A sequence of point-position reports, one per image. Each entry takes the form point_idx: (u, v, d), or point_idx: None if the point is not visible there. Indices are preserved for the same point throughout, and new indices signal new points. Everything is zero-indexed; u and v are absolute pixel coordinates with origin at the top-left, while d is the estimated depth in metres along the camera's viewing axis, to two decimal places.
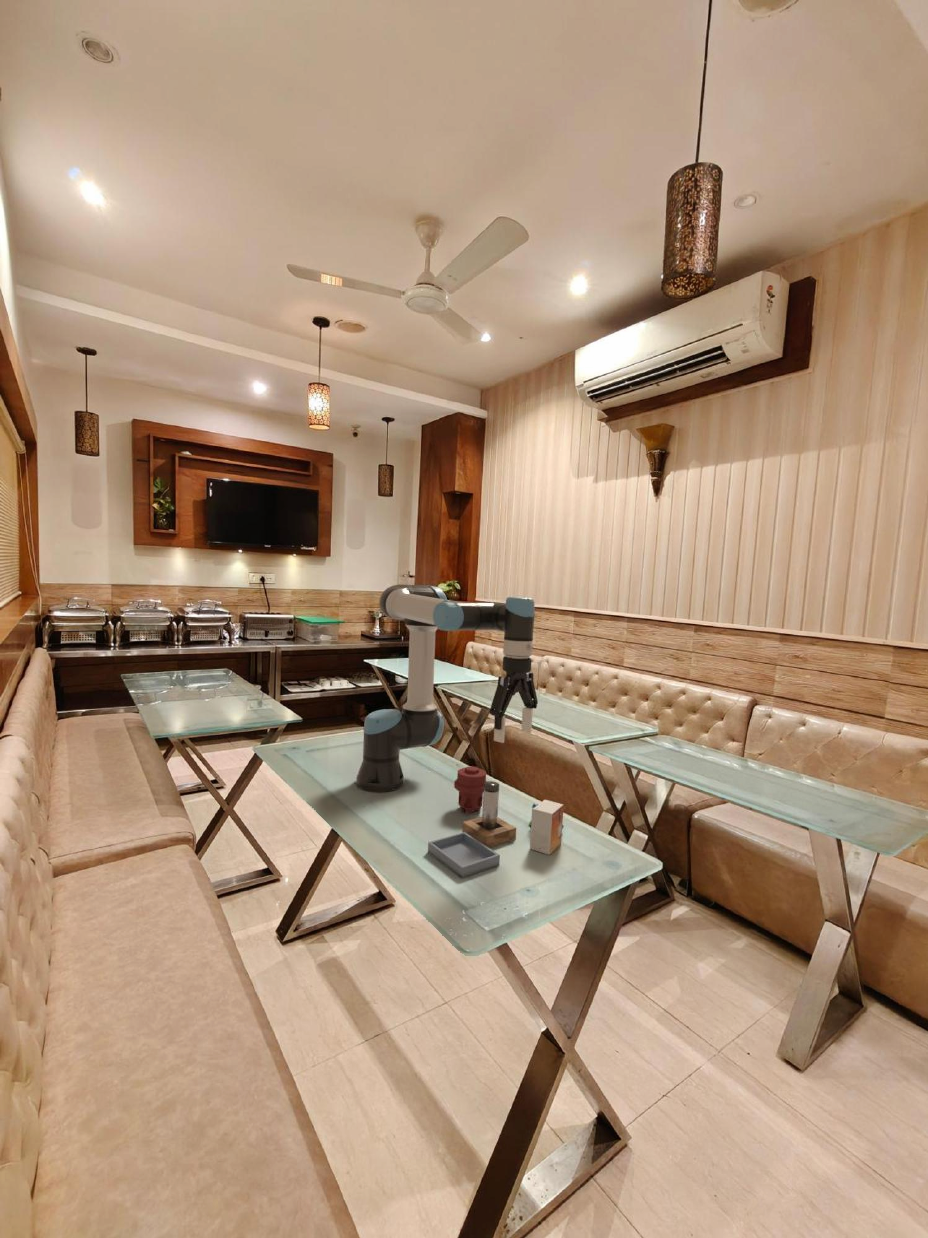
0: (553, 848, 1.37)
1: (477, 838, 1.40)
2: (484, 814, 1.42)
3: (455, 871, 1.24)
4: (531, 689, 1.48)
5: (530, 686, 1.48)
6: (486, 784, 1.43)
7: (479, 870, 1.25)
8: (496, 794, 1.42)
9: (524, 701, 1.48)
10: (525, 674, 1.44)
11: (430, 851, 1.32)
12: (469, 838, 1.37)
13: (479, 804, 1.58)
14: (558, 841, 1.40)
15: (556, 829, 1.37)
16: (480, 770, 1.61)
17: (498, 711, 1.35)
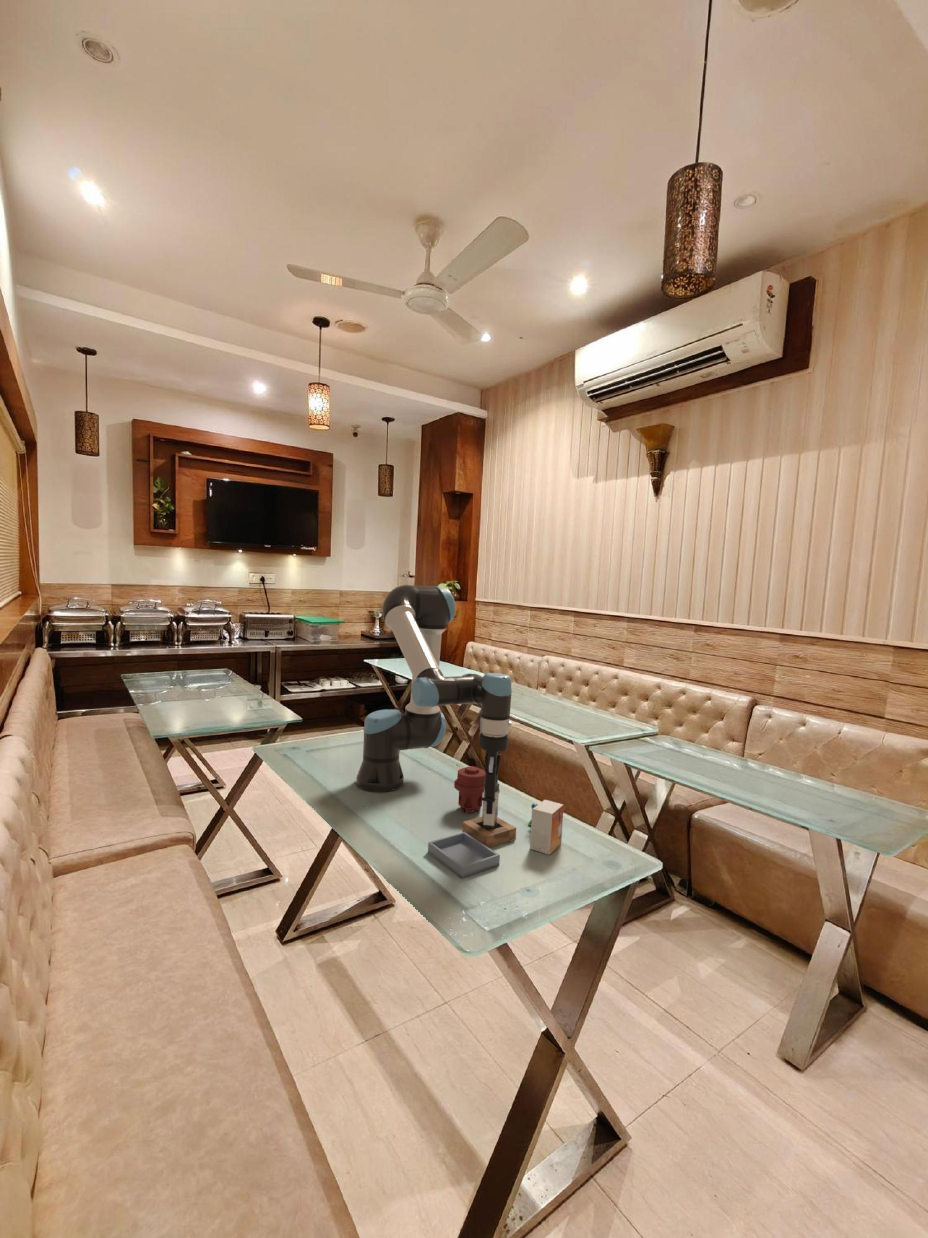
0: (553, 848, 1.37)
1: (477, 838, 1.40)
2: None
3: (455, 871, 1.24)
4: None
5: None
6: None
7: (479, 870, 1.25)
8: (496, 794, 1.42)
9: None
10: None
11: (430, 851, 1.32)
12: (469, 838, 1.37)
13: (479, 804, 1.58)
14: (558, 841, 1.40)
15: (556, 829, 1.37)
16: (480, 770, 1.61)
17: (494, 798, 1.38)
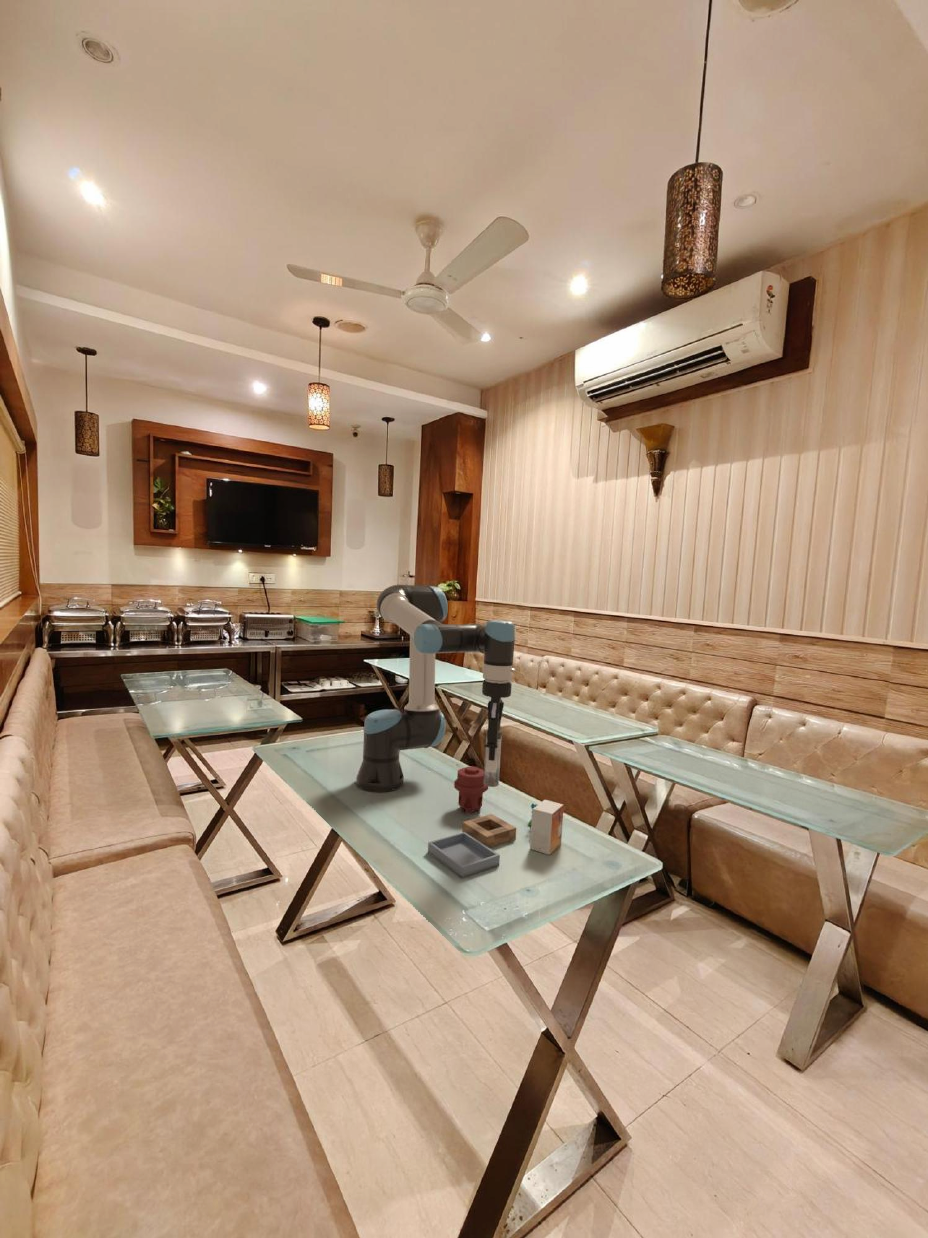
0: (553, 848, 1.37)
1: (477, 838, 1.40)
2: None
3: (455, 871, 1.24)
4: None
5: None
6: None
7: (479, 870, 1.25)
8: (499, 741, 1.41)
9: None
10: None
11: (430, 851, 1.32)
12: (469, 838, 1.37)
13: (479, 804, 1.58)
14: (558, 841, 1.40)
15: (556, 829, 1.37)
16: (480, 770, 1.61)
17: (496, 744, 1.37)
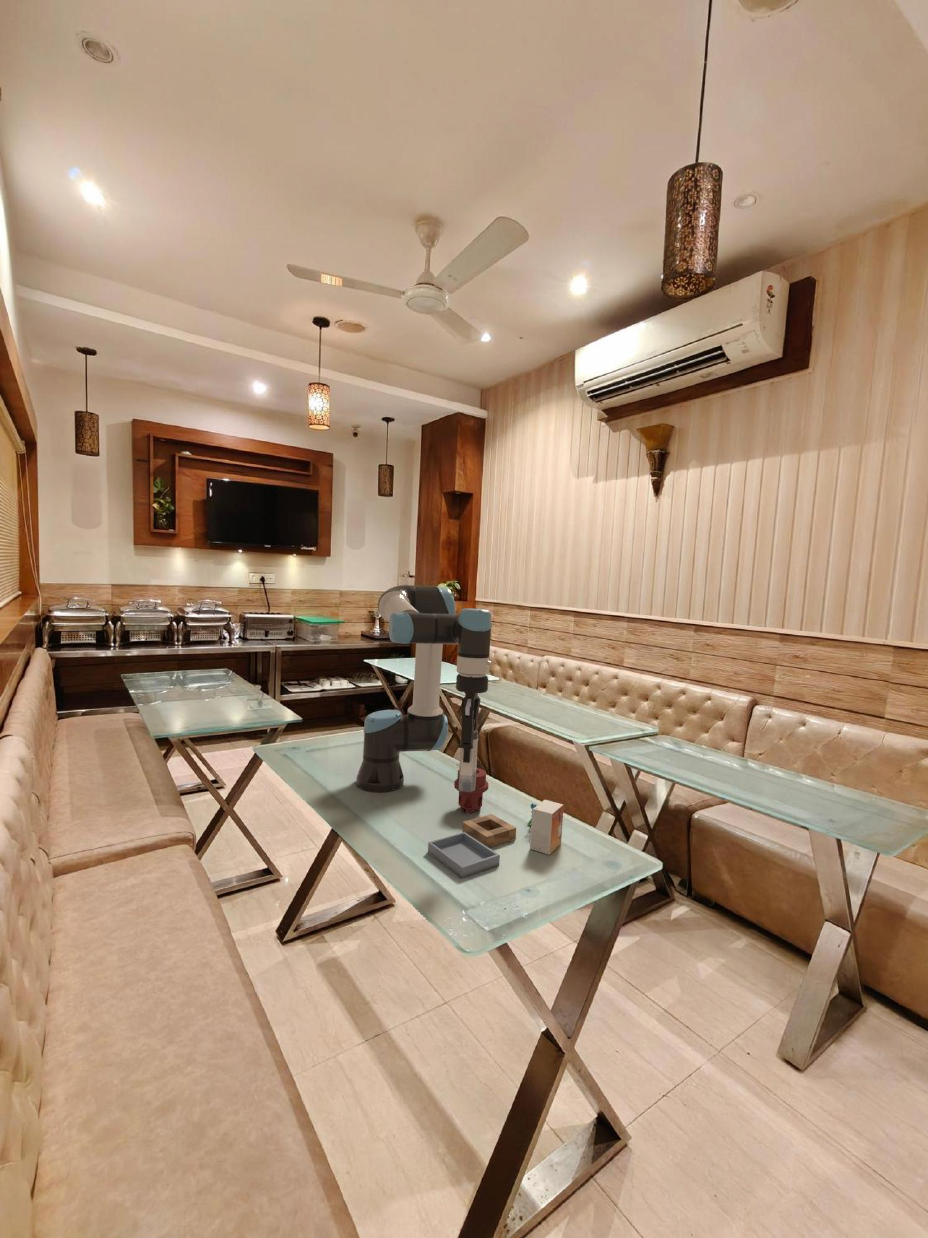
0: (553, 848, 1.37)
1: (477, 838, 1.40)
2: None
3: (455, 871, 1.24)
4: None
5: None
6: None
7: (479, 870, 1.25)
8: (474, 742, 1.28)
9: None
10: (477, 692, 1.32)
11: (430, 851, 1.32)
12: (469, 838, 1.37)
13: (479, 804, 1.58)
14: (558, 841, 1.40)
15: (556, 829, 1.37)
16: (480, 770, 1.61)
17: (471, 744, 1.24)
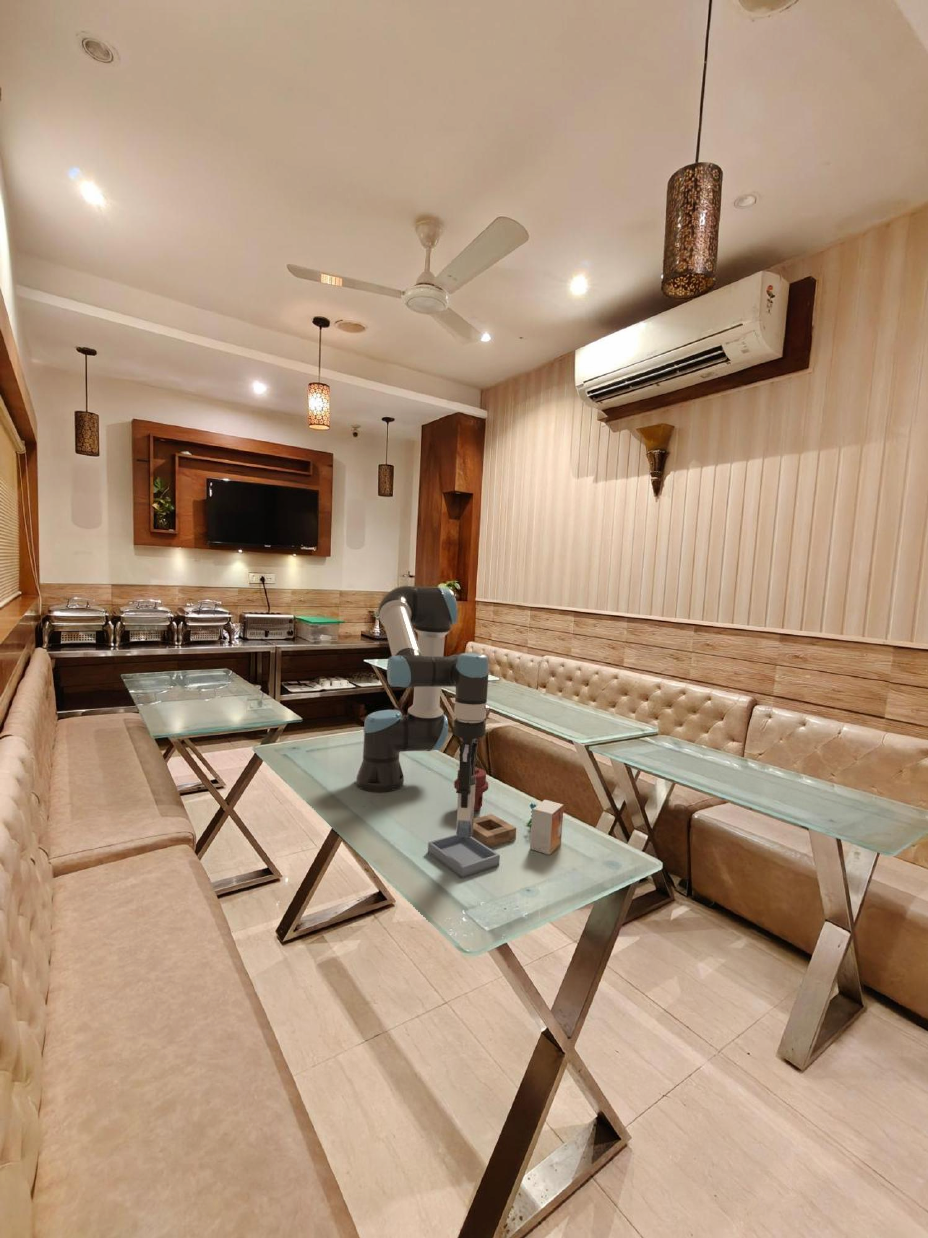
0: (553, 848, 1.37)
1: (477, 838, 1.40)
2: None
3: (455, 871, 1.24)
4: None
5: None
6: None
7: (479, 870, 1.25)
8: (472, 787, 1.29)
9: None
10: None
11: (430, 851, 1.32)
12: (469, 838, 1.37)
13: (479, 804, 1.58)
14: (558, 841, 1.40)
15: (556, 829, 1.37)
16: (480, 770, 1.61)
17: (468, 790, 1.25)
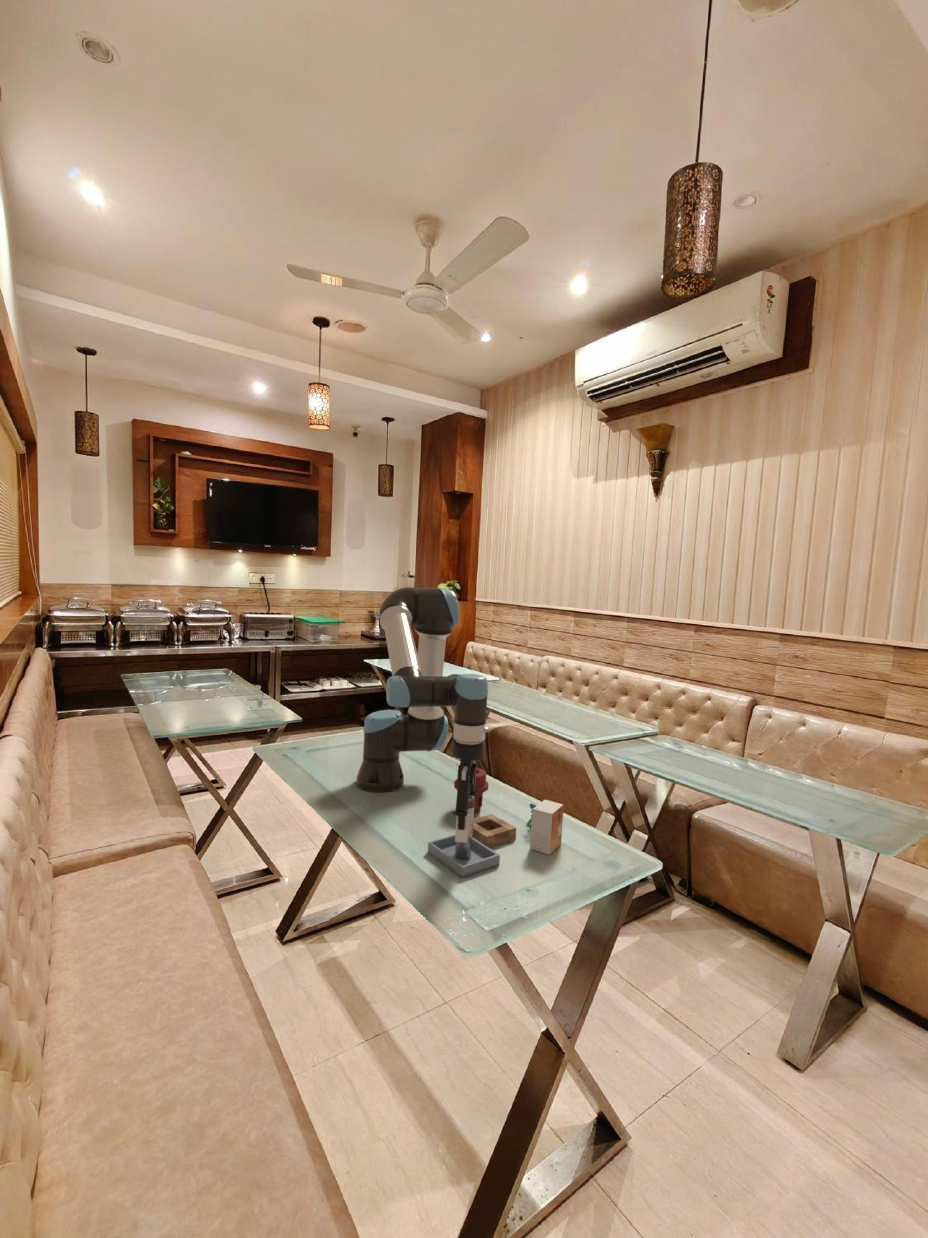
0: (553, 848, 1.37)
1: (477, 838, 1.40)
2: None
3: (455, 871, 1.24)
4: None
5: None
6: None
7: (479, 870, 1.25)
8: (471, 810, 1.29)
9: None
10: None
11: (430, 851, 1.32)
12: None
13: (479, 804, 1.58)
14: (558, 841, 1.40)
15: (556, 829, 1.37)
16: (480, 770, 1.61)
17: (466, 811, 1.22)
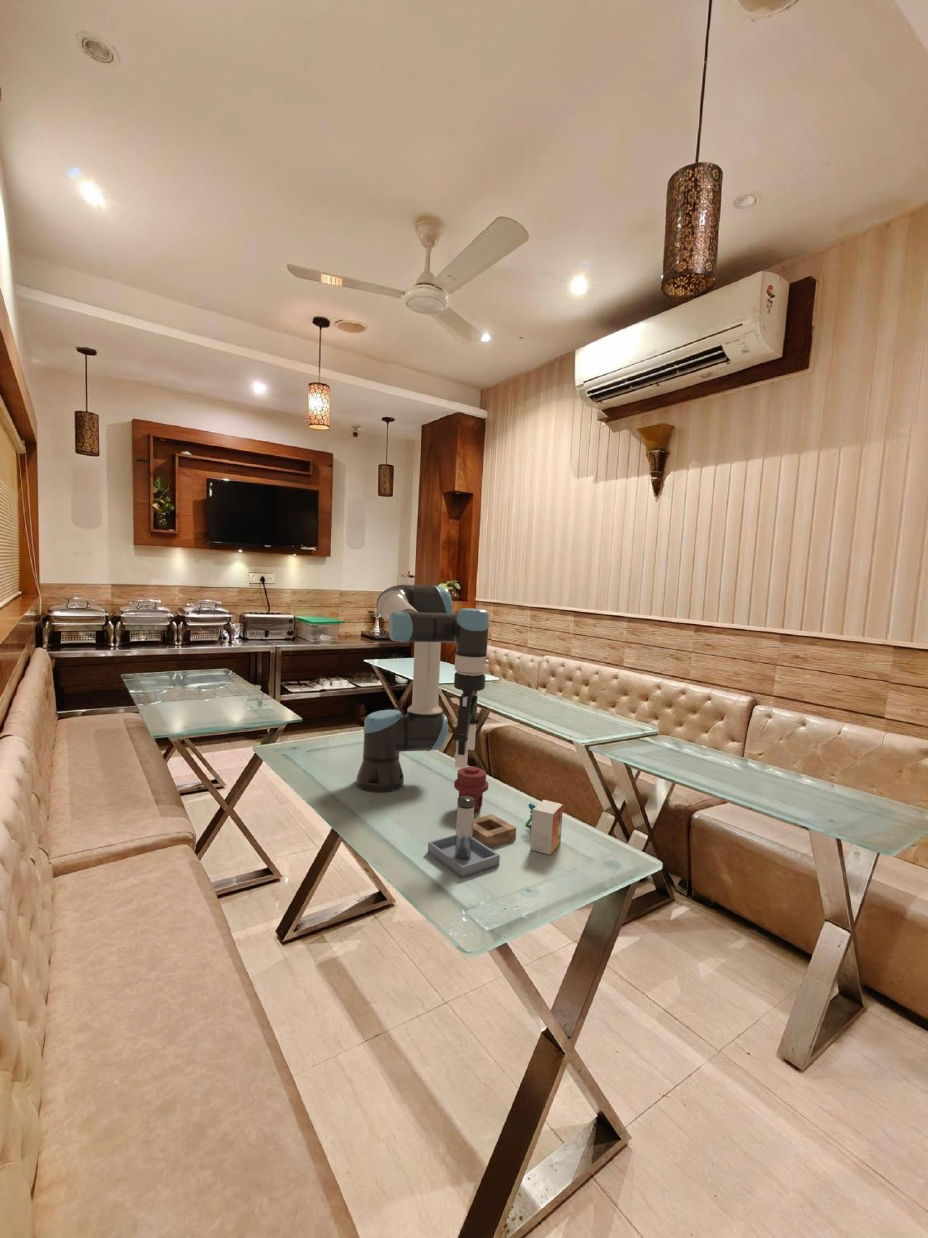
0: (553, 848, 1.37)
1: (477, 838, 1.40)
2: (458, 832, 1.30)
3: (455, 871, 1.24)
4: None
5: None
6: (460, 799, 1.30)
7: (479, 870, 1.25)
8: (471, 810, 1.29)
9: None
10: None
11: (430, 851, 1.32)
12: None
13: (479, 804, 1.58)
14: (558, 841, 1.40)
15: (556, 829, 1.37)
16: (480, 770, 1.61)
17: (466, 736, 1.24)
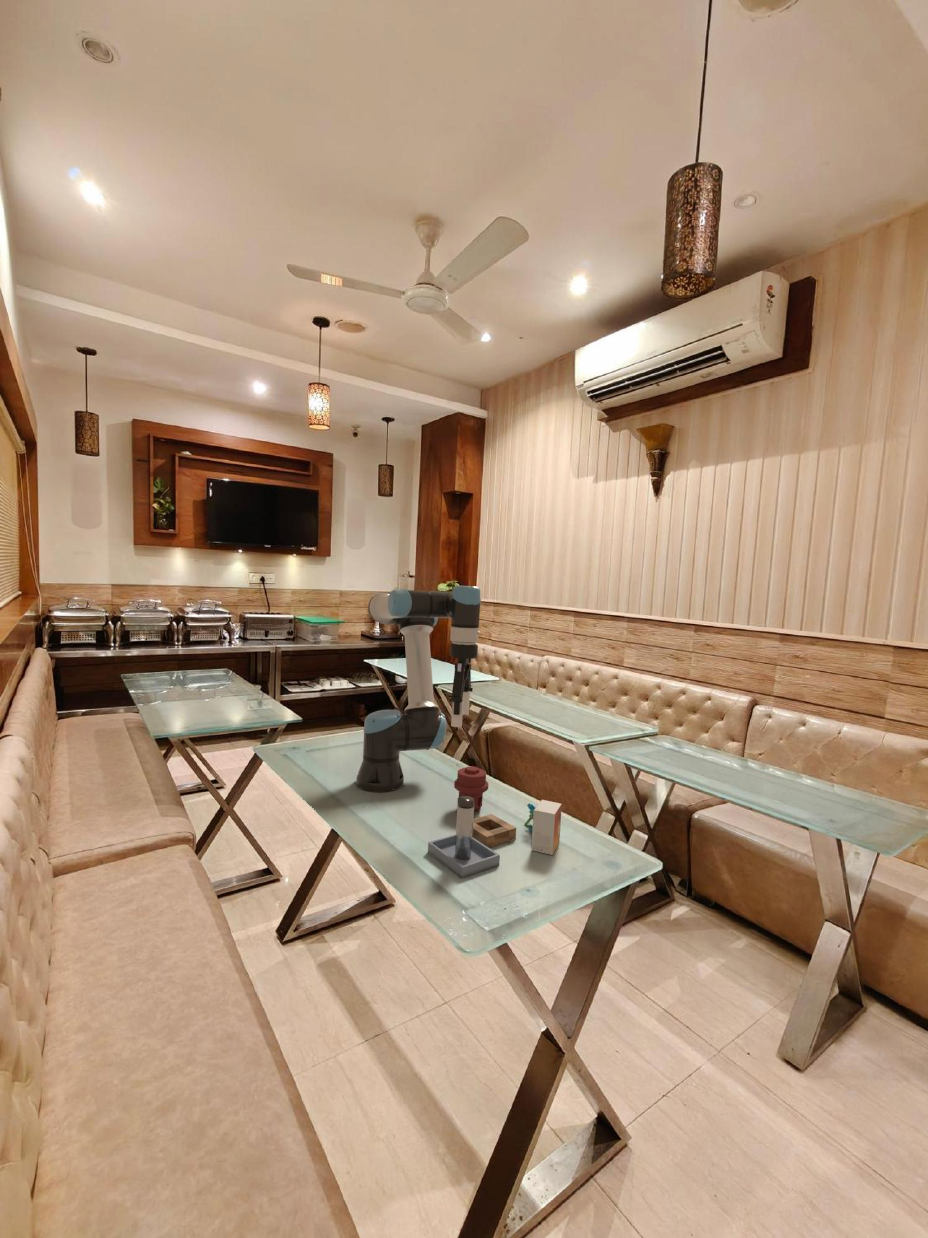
0: (554, 848, 1.37)
1: (477, 838, 1.40)
2: (458, 832, 1.30)
3: (455, 871, 1.24)
4: None
5: None
6: (460, 799, 1.30)
7: (479, 870, 1.25)
8: (471, 810, 1.29)
9: None
10: (468, 659, 1.51)
11: (430, 851, 1.32)
12: None
13: (479, 804, 1.58)
14: (558, 840, 1.40)
15: (556, 829, 1.37)
16: (480, 770, 1.61)
17: (460, 697, 1.39)
